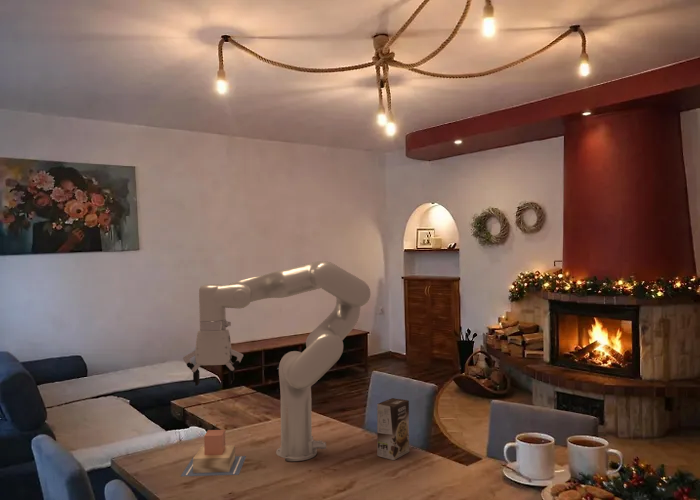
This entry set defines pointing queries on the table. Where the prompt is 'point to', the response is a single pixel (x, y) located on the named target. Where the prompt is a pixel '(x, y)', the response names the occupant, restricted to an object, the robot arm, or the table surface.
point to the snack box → (392, 428)
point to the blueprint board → (233, 471)
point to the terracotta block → (214, 442)
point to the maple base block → (214, 461)
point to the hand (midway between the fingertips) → (214, 383)
